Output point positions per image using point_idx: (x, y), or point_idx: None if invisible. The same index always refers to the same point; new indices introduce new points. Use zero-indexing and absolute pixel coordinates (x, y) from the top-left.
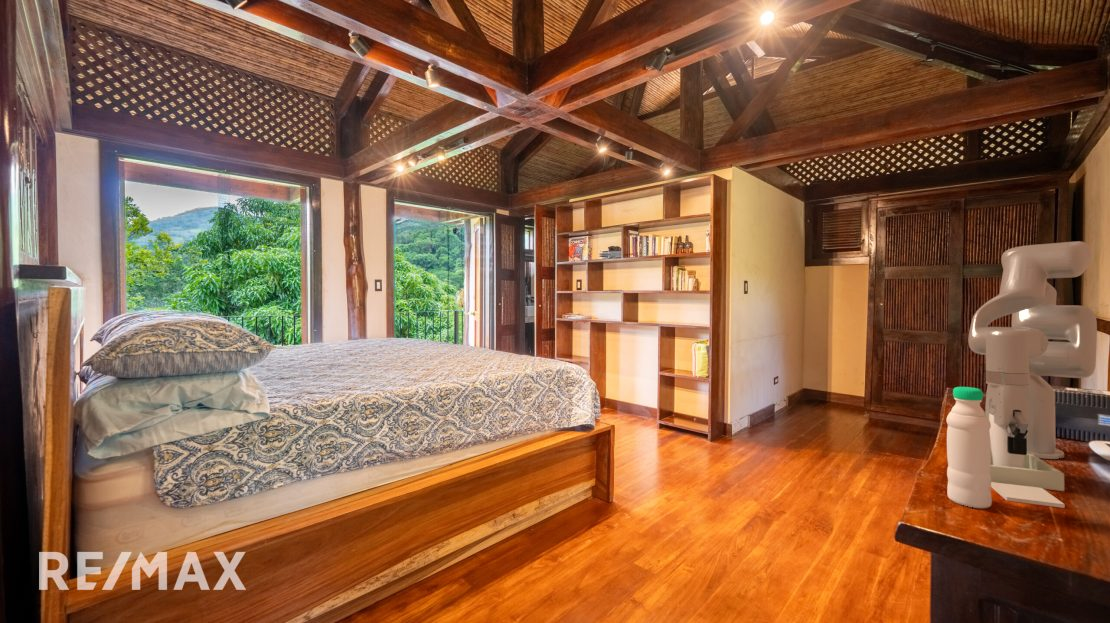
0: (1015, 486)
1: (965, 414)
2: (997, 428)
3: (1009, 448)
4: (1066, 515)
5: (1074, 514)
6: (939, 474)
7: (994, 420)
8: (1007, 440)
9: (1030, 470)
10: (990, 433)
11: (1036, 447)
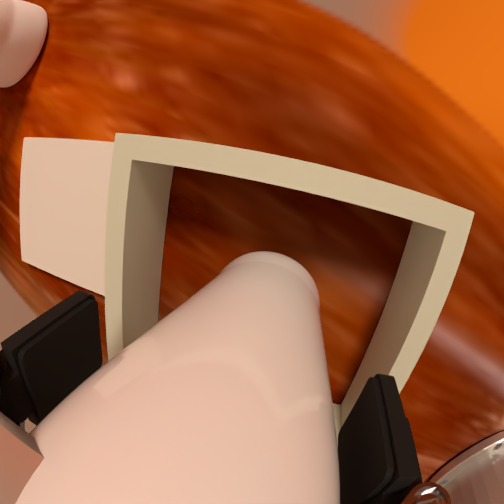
0: (96, 216)
1: None
2: (62, 408)
3: (60, 305)
4: (2, 229)
5: (10, 251)
6: (223, 7)
7: (16, 481)
8: (33, 331)
9: (106, 316)
10: (198, 361)
11: (456, 491)
